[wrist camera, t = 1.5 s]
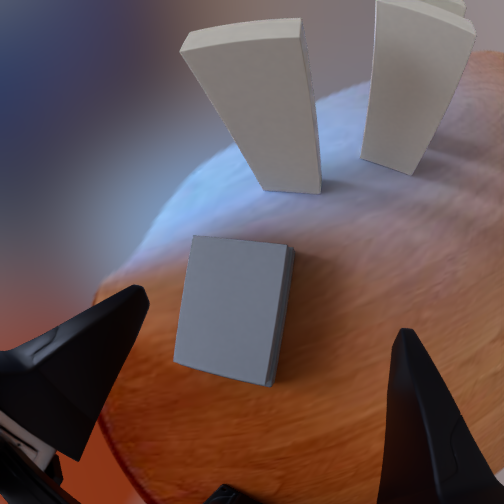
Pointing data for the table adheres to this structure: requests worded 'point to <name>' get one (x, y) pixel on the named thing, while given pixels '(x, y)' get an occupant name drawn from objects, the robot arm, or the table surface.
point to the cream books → (413, 77)
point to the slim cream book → (263, 97)
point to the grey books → (234, 308)
